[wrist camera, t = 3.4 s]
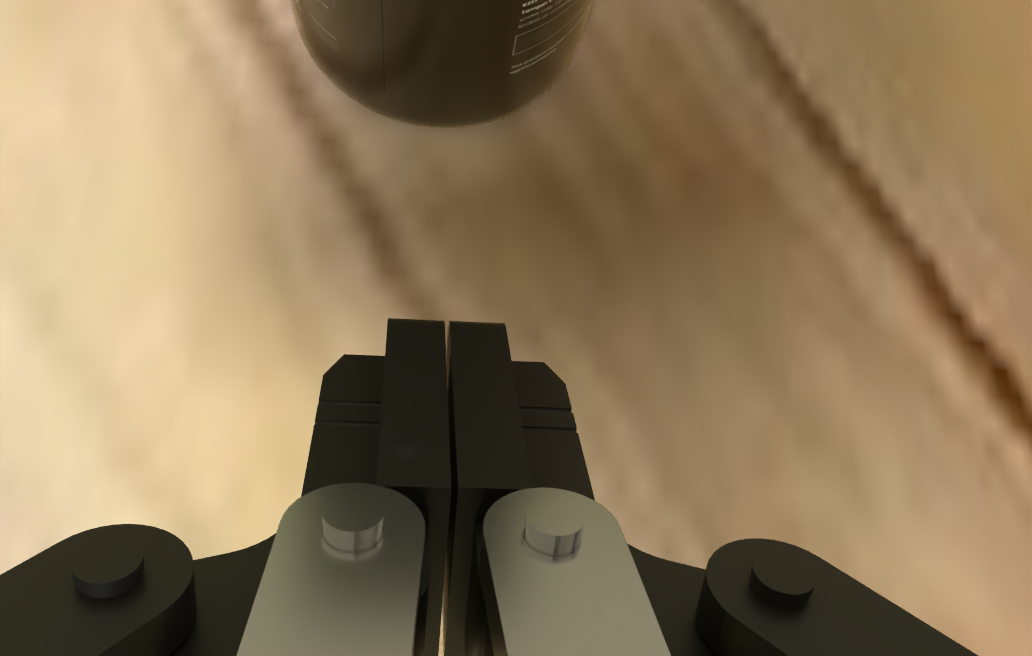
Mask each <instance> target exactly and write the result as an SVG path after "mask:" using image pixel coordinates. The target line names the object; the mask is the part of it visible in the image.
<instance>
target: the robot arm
mask: <svg viewBox="0 0 1032 656" xmlns="http://www.w3.org/2000/svg"><path fill="white" fill-rule="evenodd" d="M571 409H572V408H571V404H570V400H569V396H568V392H567V388H566V384H565V383H564V382H563V381H562V380H561V379H560V378H559V377H558V376H557V375H556V374H555V373H554V372H553V371H552V370H551V369H550V368H549V367H548V366H547V365H546V364H545V363H544V362H521V361H511V356H510V349H509V343H508V337H507V331H506V326H505V324H504V323H483V322H462V321H449V323H448V330H447V342H446V345H445V323H444V321H436V320H414V319H392V318H388V326H387V339H386V353H385V356H371V355H346V354H344V355H343V356H342V357H341V358H340V359H339V360H338V361H337V362H336V363H335V364H334V365H333V366H332V367H331V368H330V369H329V370H328V371H327V372H326V373H325V374H324V375H323V380H322V385H321V391H320V396H319V404H318V407H317V413H316V418H315V425H314V429H313V435H312V440H311V446H310V451H309V457H308V462H307V468H306V473H305V479H304V484H303V490H302V495H301V498H299V499H297V500H296V501H295V502H294V503H293V504H292V505H291V506H289V508H288V509H287V510H286V512H285V513H284V515H283V517H282V519H281V521H280V524H279V527H278V530H277V533H276V534H274V535H273V536H271V537H270V538H268V539H266V540H264V541H262V542H260V543H258V544H256V545H253V546H251V547H248V548H245V549H242V550H238V551H235V552H231V553H226V554H222V555H217V556H212V557H207V558H202V559H198V560H193V559H192V555H191V553H190V551H189V549H188V547H187V546H186V545H185V544H184V542H183V541H181V540H180V539H179V538H178V537H176V536H175V535H173V534H171V533H169V532H167V531H165V530H162V529H159V528H156V527H152V526H146V525H138V524H119V525H109V526H103V527H98V528H94V529H90V530H86V531H84V532H81V533H78V534H75V535H73V536H71V537H69V538H67V539H65V540H62V541H60V542H59V543H57V544H55V545H53V546H51V547H50V548H48V549H46V550H44V551H42V552H41V553H39V554H37V555H35V556H34V557H32V558H30V559H28V560H26V561H25V562H23V563H21V564H19V565H17V566H16V567H14V568H12V569H10V570H8V571H7V572H5V573H3V574H1V575H0V656H438V651H439V638H440V625H441V613H442V610H443V652H444V656H978V655H976V654H975V653H973V652H971V651H970V650H968V649H966V648H965V647H963V646H962V645H960V644H958V643H957V642H955V641H954V640H952V639H950V638H949V637H947V636H945V635H944V634H942V633H941V632H939V631H937V630H936V629H934V628H933V627H931V626H929V625H928V624H926V623H924V622H923V621H921V620H920V619H918V618H916V617H915V616H913V615H912V614H910V613H908V612H907V611H905V610H903V609H902V608H900V607H899V606H897V605H895V604H894V603H892V602H891V601H889V600H887V599H886V598H884V597H882V596H881V595H879V594H878V593H876V592H874V591H873V590H871V589H870V588H868V587H866V586H865V585H863V584H861V583H860V582H858V581H857V580H855V579H853V578H852V577H850V576H849V575H847V574H845V573H844V572H842V571H840V570H839V569H837V568H836V567H834V566H832V565H831V564H829V563H828V562H826V561H824V560H823V559H821V558H819V557H818V556H816V555H814V554H812V553H810V552H809V551H806V550H804V549H802V548H799V547H797V546H794V545H791V544H788V543H785V542H780V541H776V540H770V539H743V540H737V541H734V542H731V543H728V544H726V545H724V546H722V547H720V548H719V549H718V550H717V551H715V552H714V553H713V555H712V556H711V558H710V559H709V562H708V564H707V567H706V570H704V569H700V568H696V567H692V566H688V565H684V564H680V563H676V562H672V561H668V560H665V559H661V558H658V557H655V556H652V555H649V554H647V553H645V552H642V551H640V550H638V549H636V548H634V547H632V546H631V545H629V544H627V542H626V540H625V537H624V535H623V532H622V530H621V527H620V525H619V524H618V522H617V520H616V519H615V518H614V516H613V515H612V514H611V513H610V512H609V511H608V510H607V509H606V508H604V507H603V506H602V505H600V504H599V503H597V502H596V501H595V499H594V495H593V491H592V487H591V483H590V479H589V475H588V471H587V467H586V463H585V459H584V455H583V451H582V447H581V444H580V440H579V436H578V433H576V429H577V428H576V424H575V420H574V416H573V413H571Z"/></svg>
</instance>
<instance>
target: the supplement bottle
mask: <svg viewBox="0 0 1032 656" xmlns="http://www.w3.org/2000/svg"><path fill="white" fill-rule="evenodd" d="M291 3H292V8H293V13H294V16H295V20H296V23H297V26H298V29H299V32H300V35H301V37H302V40H303V42H304V44H305V46H306V48H307V50H308V51H309V53H310V55H311V57H312V58H313V59H314V61H315V62H316V64H317V65H318V67H319V68H320V69H321V70H322V71H323V73H324V74H325V75H326V76H327V77H328V78H329V80H331V81H332V82H333V83H334V84H335V85H336V86H337V87H338V88H339V89H340V90H341V91H343V92H344V93H345V94H347V95H348V96H349V97H350V98H352V99H353V100H355V101H357V102H358V103H360V104H361V105H363V106H365V107H367V108H369V109H371V110H372V111H374V112H376V113H379V114H381V115H384V116H386V117H389V118H392V119H395V120H398V121H401V122H405V123H409V124H414V125H418V126H426V127H437V128H455V127H466V126H474V125H479V124H483V123H487V122H491V121H494V120H497V119H500V118H503V117H506V116H508V115H510V114H513V113H515V112H517V111H519V110H520V109H522V108H524V107H526V106H528V105H529V104H531V103H532V102H533V101H535V100H536V99H538V98H539V97H540V96H541V95H543V94H544V93H545V92H546V91H547V90H548V89H549V88H550V87H551V86H552V85H553V84H554V83H555V82H556V81H557V80H558V79H559V78H560V76H561V75H562V74H563V72H564V71H565V70H566V68H567V67H568V65H569V63H570V62H571V60H572V58H573V57H574V54H575V52H576V50H577V48H578V45H579V43H580V41H581V38H582V35H583V32H584V29H585V26H586V22H587V19H588V17H589V14H590V10H591V7H592V4H593V0H291Z"/></svg>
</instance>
